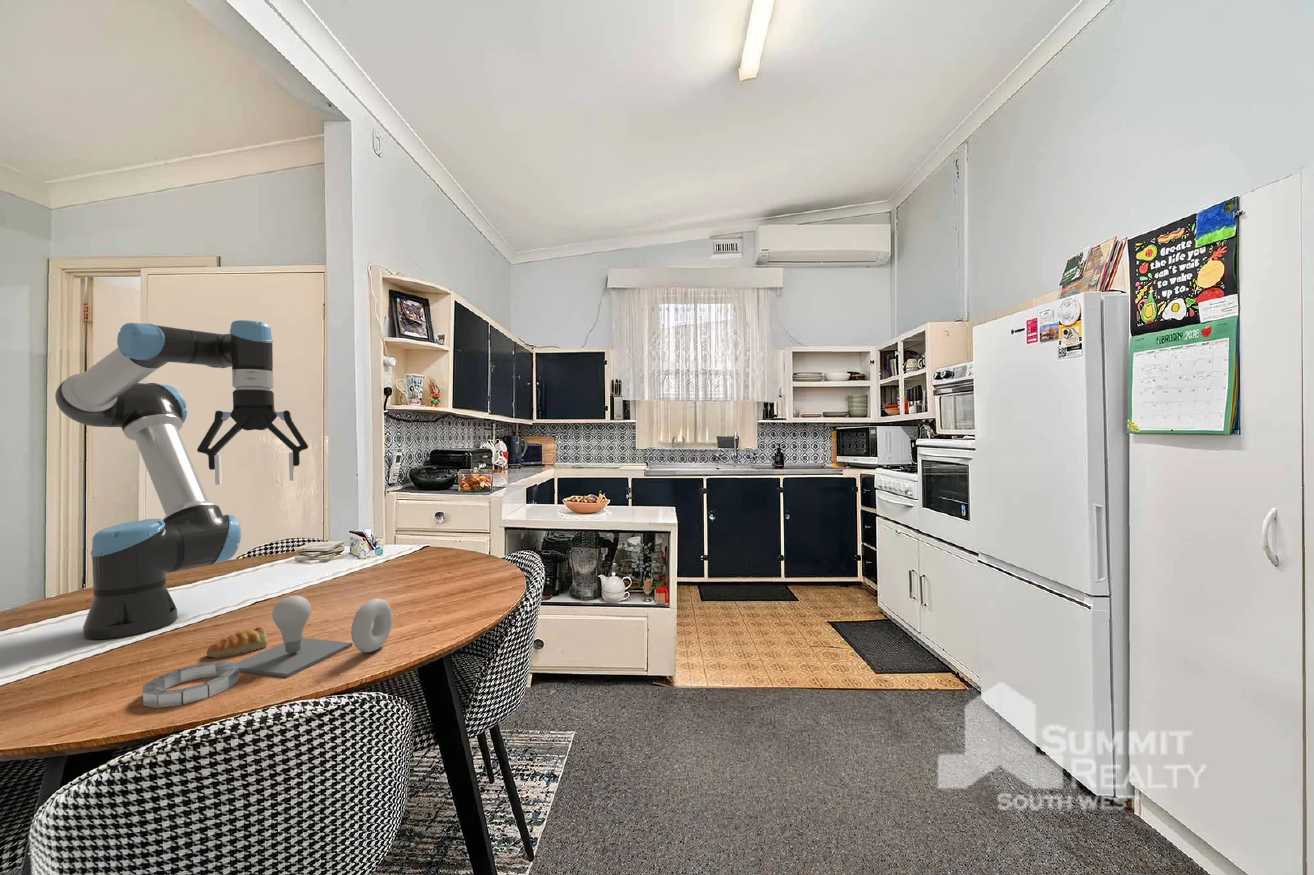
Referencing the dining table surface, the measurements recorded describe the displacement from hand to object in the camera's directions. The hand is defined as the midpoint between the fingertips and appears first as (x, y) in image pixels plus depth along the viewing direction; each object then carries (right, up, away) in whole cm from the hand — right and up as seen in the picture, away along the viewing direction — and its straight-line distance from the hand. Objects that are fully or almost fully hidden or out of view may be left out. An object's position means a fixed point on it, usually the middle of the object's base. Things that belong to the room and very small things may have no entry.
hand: (256, 482), depth 123 cm
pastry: (+10, -32, -17) cm, 38 cm away
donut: (+37, -31, -19) cm, 52 cm away
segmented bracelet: (+14, -32, -33) cm, 48 cm away
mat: (+23, -31, -21) cm, 44 cm away
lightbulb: (+23, -31, -21) cm, 44 cm away
